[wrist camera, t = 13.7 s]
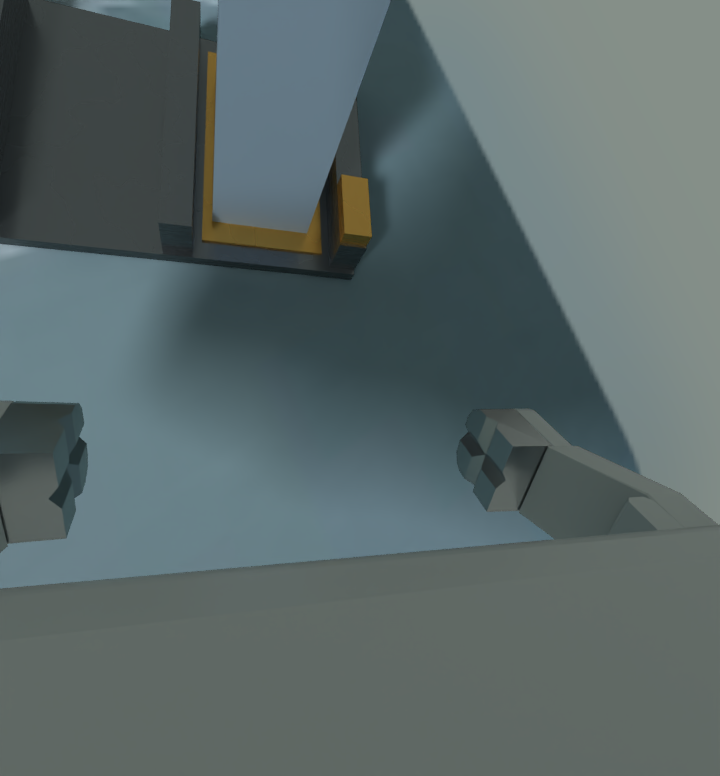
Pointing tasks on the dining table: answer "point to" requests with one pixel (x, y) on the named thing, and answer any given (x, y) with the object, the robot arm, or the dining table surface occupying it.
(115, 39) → the rack
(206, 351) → the dining table surface
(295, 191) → the blue-grey rectangular block
